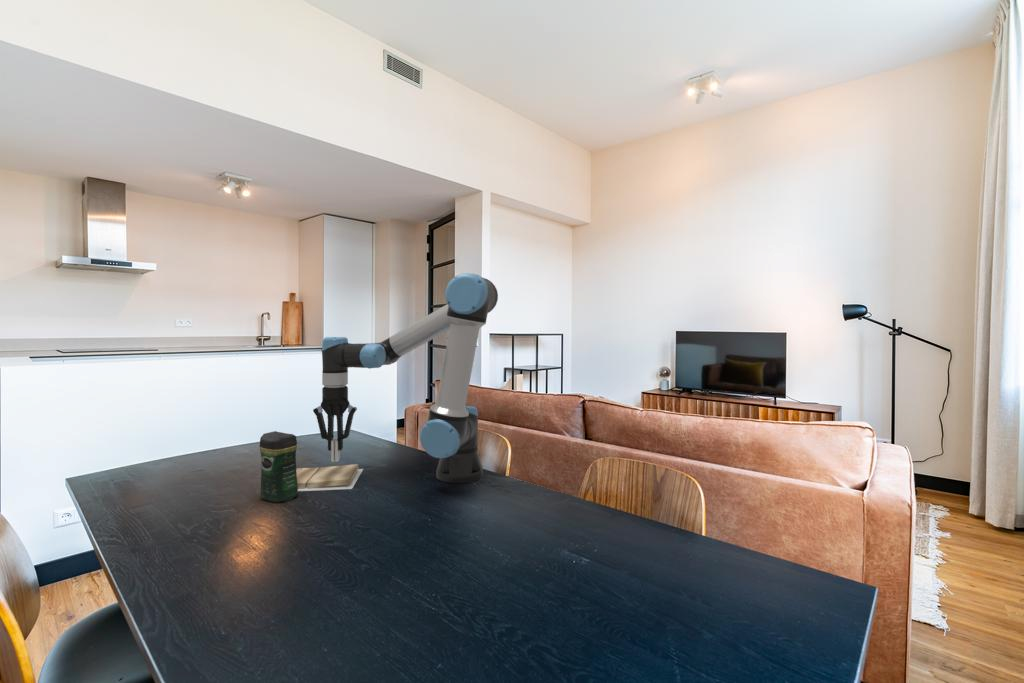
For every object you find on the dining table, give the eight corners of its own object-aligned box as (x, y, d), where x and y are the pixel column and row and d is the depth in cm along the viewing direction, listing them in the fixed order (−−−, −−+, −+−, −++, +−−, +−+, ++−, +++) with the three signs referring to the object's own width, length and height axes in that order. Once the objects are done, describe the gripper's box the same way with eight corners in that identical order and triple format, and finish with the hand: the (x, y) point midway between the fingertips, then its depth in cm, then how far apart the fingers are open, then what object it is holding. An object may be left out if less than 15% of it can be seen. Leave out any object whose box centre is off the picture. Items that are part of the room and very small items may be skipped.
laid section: (319, 472, 154) (319, 467, 154) (305, 488, 138) (305, 483, 138) (284, 473, 153) (284, 468, 153) (265, 490, 137) (265, 484, 137)
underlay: (363, 469, 158) (363, 468, 158) (352, 489, 138) (352, 488, 138) (285, 472, 155) (285, 471, 155) (262, 493, 135) (262, 492, 135)
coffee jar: (303, 495, 133) (302, 431, 132) (278, 505, 126) (276, 438, 125) (281, 489, 137) (279, 427, 136) (255, 499, 130) (254, 433, 129)
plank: (358, 468, 156) (358, 464, 156) (348, 484, 140) (348, 479, 140) (320, 472, 154) (320, 467, 154) (307, 488, 138) (306, 483, 138)
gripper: (359, 384, 151) (359, 456, 151) (316, 384, 149) (316, 457, 150) (354, 387, 143) (355, 463, 144) (309, 387, 142) (309, 464, 142)
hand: (335, 460), depth 147 cm, fingers closed
